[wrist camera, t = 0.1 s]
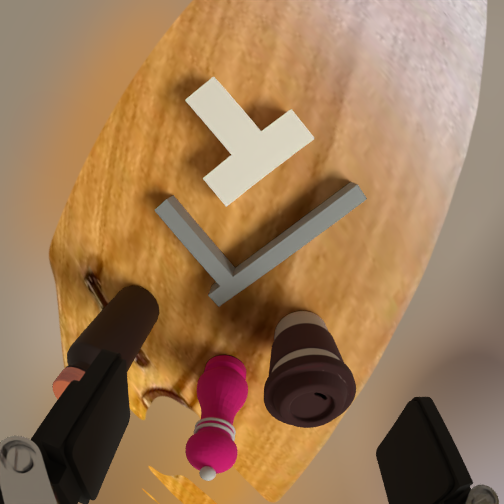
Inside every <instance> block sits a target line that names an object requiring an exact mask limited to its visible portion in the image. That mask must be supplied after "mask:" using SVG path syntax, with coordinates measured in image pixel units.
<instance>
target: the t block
mask: <svg viewBox="0 0 504 504" xmlns="http://www.w3.org/2000/svg"><path fill="white" fill-rule="evenodd" d="M185 101H186V102H187V103H188V104H189V105H190V107H191V108H192V109H193V110H194V111H195V112H196V114H197V115H198V116H199V117H200V118H201V119H202V121H203V122H204V123H205V124H206V125H207V126H208V128H209V129H210V130H211V131H212V132H213V133H214V135H215V136H216V137H217V138H218V139H219V141H220V142H221V143H222V144H223V145H224V146H225V148H226V149H227V150H228V151H229V152H230V154H231V156H229V157H228V158H227V159H226V160H224V161H223V162H222V163H221V164H220V165H218V166H217V167H216V168H215V169H214V170H212V171H211V172H210V173H209V174H208V175H206V176H205V177H204V178H203V179H204V181H205V182H206V183H207V184H208V185H209V187H210V188H211V189H212V190H213V191H214V193H215V194H216V195H217V196H218V197H219V199H220V200H221V201H222V202H223V203H224V205H225V206H226V207H227V206H228V205H229V204H230V203H232V202H233V201H234V200H235V199H237V198H238V197H239V196H240V195H242V194H243V193H244V192H245V191H247V190H248V189H249V188H251V187H252V186H253V185H254V184H256V183H257V182H258V181H259V180H261V179H262V178H263V177H265V176H266V175H267V174H269V173H270V172H271V171H272V170H274V169H275V168H276V167H278V166H279V165H280V164H282V163H283V162H284V161H286V160H287V159H288V158H290V157H291V156H292V155H293V154H295V153H296V152H297V151H299V150H300V149H302V148H303V147H304V146H306V145H307V144H308V143H310V142H311V141H312V140H314V139H315V138H314V137H313V136H312V134H311V133H310V132H309V131H308V129H307V128H306V127H305V125H304V124H303V123H302V122H301V120H300V119H299V118H298V117H297V115H296V114H295V113H294V112H293V111H292V109H291V110H289V111H288V112H286V113H285V114H284V115H282V116H281V117H280V118H278V119H277V120H276V121H274V122H273V123H272V124H270V125H269V126H268V127H266V128H265V129H264V130H262V131H260V129H259V128H258V127H257V126H256V125H255V123H254V122H253V121H252V120H251V119H250V117H249V116H248V115H247V114H246V113H245V112H244V110H243V109H242V108H241V107H240V106H239V105H238V103H237V102H236V101H235V100H234V99H233V98H232V96H231V95H230V94H229V93H228V92H227V91H226V90H225V89H224V87H223V86H222V85H221V84H220V83H219V82H218V81H217V80H216V78H215V77H212V78H211V79H210V80H209V81H207V82H206V83H205V84H204V85H202V86H201V87H200V88H199V89H198V90H196V91H195V92H194V93H193V94H192V95H190V96H189V97H188V98H187V99H186V100H185Z"/></svg>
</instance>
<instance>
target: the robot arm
mask: <svg viewBox="0 0 504 504" xmlns="http://www.w3.org/2000/svg"><path fill="white" fill-rule="evenodd" d="M129 419H130V408H129V397H128V383H127V367H126V360H125V359H122V357H121V354H120V353H117V352H114V351H110V350H107V349H102V350H101V351H100V353H99V354H98V355H97V357H96V358H95V360H94V361H93V362H92V364H91V365H90V367H89V368H88V369H87V371H86V372H85V374H84V375H83V376H82V378H81V379H80V381H77V380H73V381H71V382H70V384H69V385H68V386H67V387H66V389H65V390H64V392H63V393H62V395H61V396H60V397H59V399H58V400H57V402H56V403H55V404H54V406H53V407H52V409H51V410H50V412H49V413H48V415H47V416H46V418H45V419H44V421H43V422H42V423H41V425H40V426H39V428H38V429H37V431H36V433H35V434H34V435H33V437H32V438H31V440H30V439H28V438H25V437H22V436H12V437H7V438H6V439H4V440H2V441H1V442H0V504H78V502H80V503H82V504H88V503H89V500H90V499H91V500H95V499H96V497H97V495H98V493H99V490H100V488H101V485H102V483H103V481H104V478H105V476H106V474H107V471H108V469H109V466H110V464H111V462H112V459H113V457H114V455H115V452H116V450H117V448H118V446H119V443H120V441H121V439H122V437H123V434H124V432H125V430H126V427H127V425H128V423H129ZM376 457H377V461H378V464H379V468H380V471H381V475H382V479H383V482H384V487H385V490H386V494H387V497H388V502H389V504H499V500H498V496H497V494H496V493H495V491H494V490H493V489H492V488H490V487H489V486H485V485H477V486H475V487H473V488H472V489H471V488H470V485H472V484H473V482H472V479H471V477H470V475H469V473H468V471H467V468H466V466H465V464H464V462H463V460H462V457H461V455H460V453H459V451H458V449H457V447H456V445H455V443H454V441H453V439H452V437H451V435H450V433H449V431H448V429H447V427H446V425H445V423H444V421H443V419H442V417H441V415H440V414H439V412H438V410H437V408H436V406H435V404H434V402H433V400H432V399H431V398H430V397H414V398H413V399H412V400H411V401H409V402H408V404H407V405H406V407H405V408H404V410H403V411H402V413H401V415H400V416H399V417H398V419H397V421H396V422H395V424H394V425H393V427H392V428H391V430H390V431H389V432H388V434H387V435H386V437H385V438H384V440H383V441H382V442H381V444H380V445H379V446H378V448H377V451H376Z"/></svg>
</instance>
